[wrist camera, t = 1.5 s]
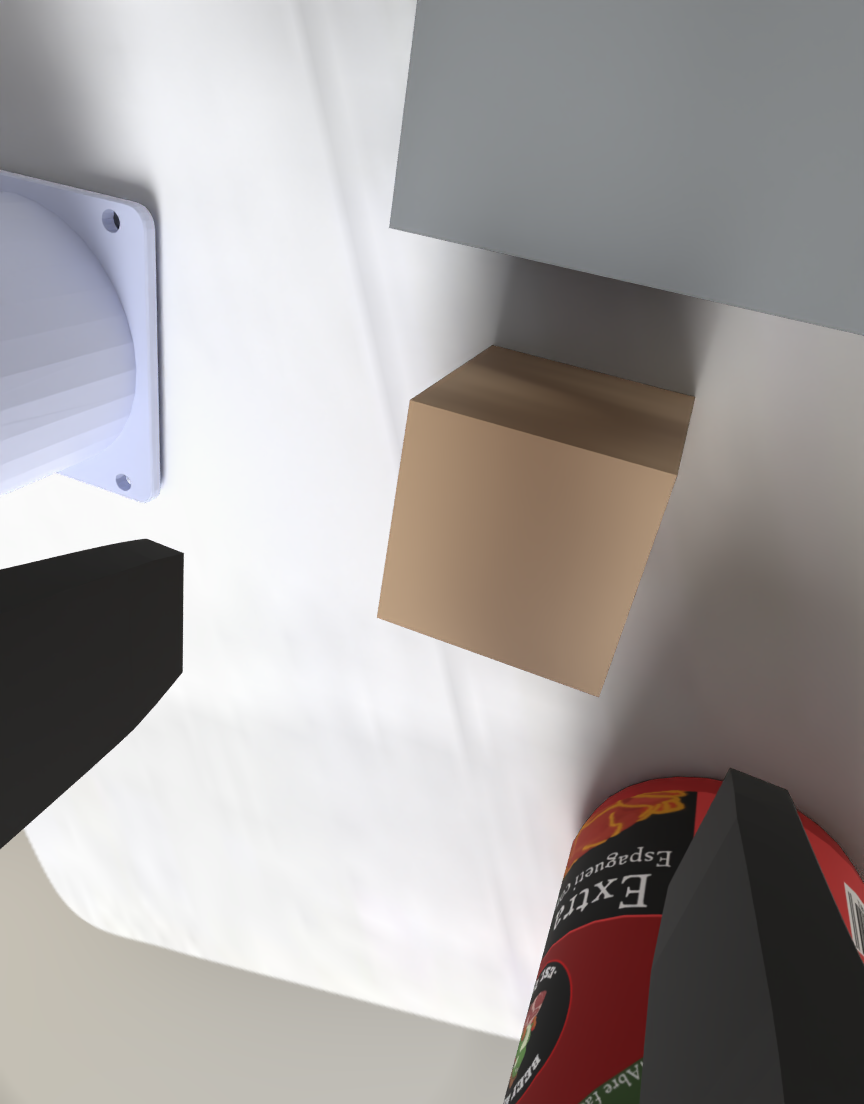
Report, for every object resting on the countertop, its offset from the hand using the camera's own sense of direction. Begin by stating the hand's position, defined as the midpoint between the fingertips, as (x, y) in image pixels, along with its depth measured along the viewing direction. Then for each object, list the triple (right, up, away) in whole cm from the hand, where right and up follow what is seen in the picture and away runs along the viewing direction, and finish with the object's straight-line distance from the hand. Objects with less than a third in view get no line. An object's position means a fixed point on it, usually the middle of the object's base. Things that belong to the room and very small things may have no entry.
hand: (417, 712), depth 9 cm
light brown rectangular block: (+3, +4, +8) cm, 10 cm away
